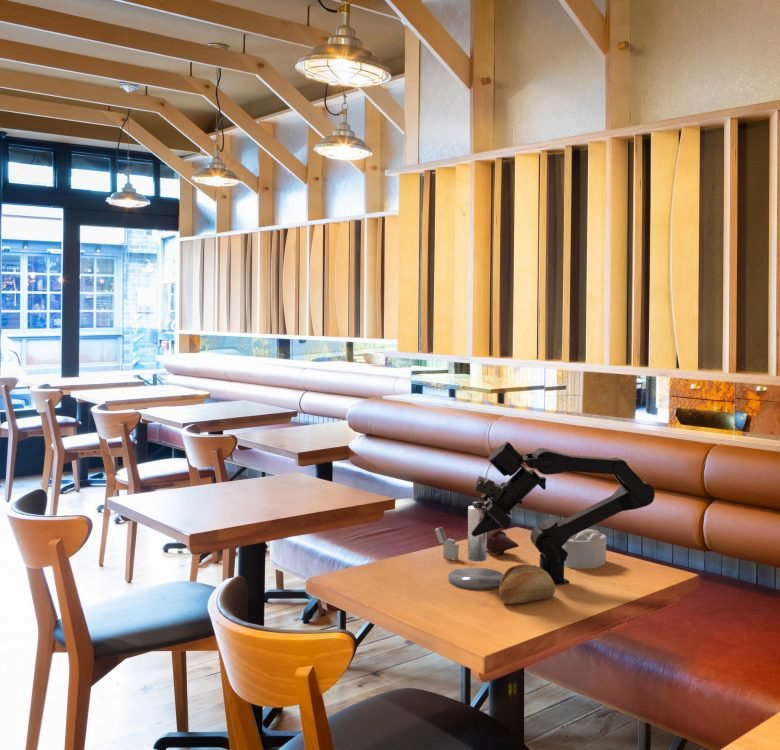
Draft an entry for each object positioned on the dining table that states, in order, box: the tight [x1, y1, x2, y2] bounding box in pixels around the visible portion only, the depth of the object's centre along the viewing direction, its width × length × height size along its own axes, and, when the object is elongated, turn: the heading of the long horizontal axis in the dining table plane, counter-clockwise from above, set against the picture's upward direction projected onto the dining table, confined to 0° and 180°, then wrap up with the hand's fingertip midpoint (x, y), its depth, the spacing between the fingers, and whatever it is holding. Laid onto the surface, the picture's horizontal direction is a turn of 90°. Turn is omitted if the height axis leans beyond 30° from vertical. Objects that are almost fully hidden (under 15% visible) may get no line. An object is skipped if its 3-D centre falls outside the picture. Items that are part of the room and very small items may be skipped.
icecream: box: [487, 529, 519, 556], centre depth 227 cm, size 7×7×15 cm
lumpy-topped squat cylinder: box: [562, 528, 607, 570], centre depth 218 cm, size 10×13×9 cm
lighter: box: [434, 526, 460, 561], centre depth 222 cm, size 7×2×8 cm, turn 48°
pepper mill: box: [467, 500, 488, 562], centre depth 201 cm, size 5×5×14 cm
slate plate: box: [448, 567, 504, 591], centre depth 202 cm, size 14×14×1 cm
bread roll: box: [498, 563, 556, 605], centre depth 188 cm, size 10×15×8 cm, turn 123°
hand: (471, 532), depth 201 cm, fingers closed on pepper mill, 5 cm apart
